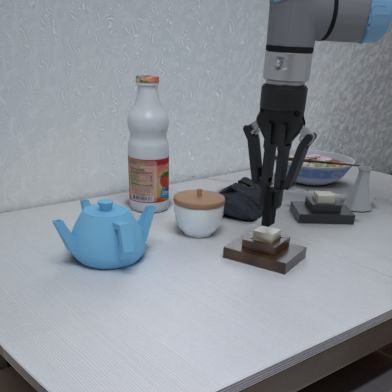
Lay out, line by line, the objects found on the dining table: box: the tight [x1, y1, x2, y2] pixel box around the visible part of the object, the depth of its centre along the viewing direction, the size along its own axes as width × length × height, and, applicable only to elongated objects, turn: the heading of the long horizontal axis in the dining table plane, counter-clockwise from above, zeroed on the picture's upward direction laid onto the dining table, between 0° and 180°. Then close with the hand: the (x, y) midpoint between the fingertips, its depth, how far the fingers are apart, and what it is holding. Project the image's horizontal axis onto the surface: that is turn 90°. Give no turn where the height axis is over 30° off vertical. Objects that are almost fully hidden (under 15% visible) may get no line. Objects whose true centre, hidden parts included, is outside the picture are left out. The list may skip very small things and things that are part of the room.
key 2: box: [312, 190, 336, 204], centre depth 118 cm, size 4×4×2 cm
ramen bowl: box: [275, 148, 361, 187], centre depth 143 cm, size 25×23×8 cm
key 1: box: [252, 225, 282, 244], centre depth 95 cm, size 4×4×2 cm
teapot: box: [51, 198, 156, 270], centre depth 92 cm, size 15×15×11 cm
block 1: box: [222, 232, 308, 276], centre depth 97 cm, size 13×10×4 cm
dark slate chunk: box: [218, 176, 263, 222], centre depth 124 cm, size 15×22×5 cm
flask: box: [342, 165, 373, 213], centre depth 125 cm, size 7×7×10 cm
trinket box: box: [172, 187, 225, 239], centre depth 105 cm, size 11×11×9 cm
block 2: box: [289, 195, 356, 225], centre depth 119 cm, size 13×10×4 cm
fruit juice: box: [126, 74, 170, 213], centre depth 114 cm, size 9×9×28 cm
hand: (267, 224), depth 94 cm, fingers closed
